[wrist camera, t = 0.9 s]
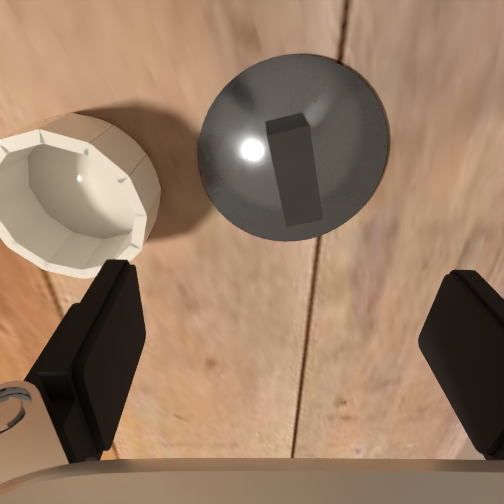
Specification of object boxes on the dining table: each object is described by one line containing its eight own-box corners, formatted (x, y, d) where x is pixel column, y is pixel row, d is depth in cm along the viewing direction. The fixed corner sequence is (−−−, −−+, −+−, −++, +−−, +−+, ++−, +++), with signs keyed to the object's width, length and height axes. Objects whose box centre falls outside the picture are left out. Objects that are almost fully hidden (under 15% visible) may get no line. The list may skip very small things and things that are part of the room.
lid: (381, 27, 27) (406, 28, 22) (387, 219, 36) (406, 246, 31) (172, 84, 29) (157, 95, 25) (227, 251, 38) (224, 281, 34)
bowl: (126, 97, 29) (100, 112, 24) (179, 228, 36) (168, 261, 31) (-10, 134, 31) (-61, 155, 26) (66, 253, 38) (38, 288, 33)
